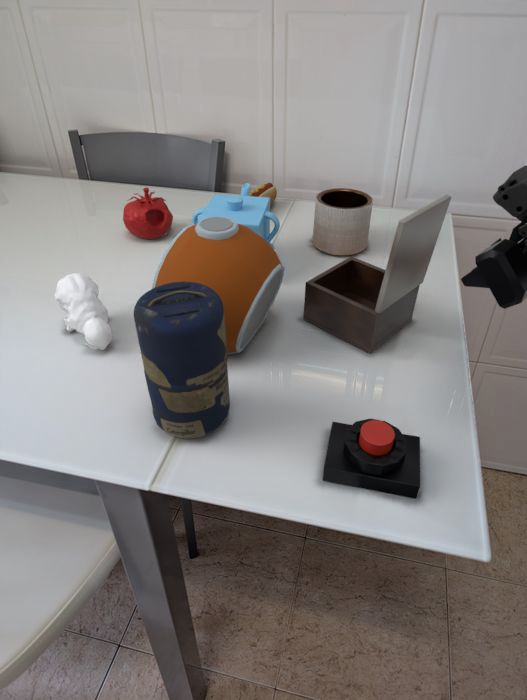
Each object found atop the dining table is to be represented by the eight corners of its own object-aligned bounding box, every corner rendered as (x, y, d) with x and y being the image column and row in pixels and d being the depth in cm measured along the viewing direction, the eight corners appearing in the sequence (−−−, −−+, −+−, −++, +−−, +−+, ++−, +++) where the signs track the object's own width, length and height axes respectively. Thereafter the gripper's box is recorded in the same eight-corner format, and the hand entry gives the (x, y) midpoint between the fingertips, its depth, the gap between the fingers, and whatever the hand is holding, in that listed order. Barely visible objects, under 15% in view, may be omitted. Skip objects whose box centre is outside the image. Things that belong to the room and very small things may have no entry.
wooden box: (303, 319, 78) (305, 282, 74) (346, 291, 85) (351, 256, 81) (369, 354, 72) (376, 315, 67) (411, 321, 78) (420, 283, 74)
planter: (364, 234, 103) (371, 188, 97) (369, 258, 94) (376, 210, 88) (312, 231, 104) (315, 186, 98) (311, 256, 95) (315, 208, 89)
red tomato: (116, 239, 101) (107, 194, 95) (142, 220, 108) (136, 177, 102) (159, 247, 98) (153, 201, 92) (183, 227, 105) (178, 183, 100)
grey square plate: (398, 220, 58) (404, 223, 58) (446, 194, 65) (451, 196, 65) (374, 311, 67) (379, 313, 67) (418, 279, 74) (423, 282, 73)
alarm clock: (201, 288, 86) (193, 189, 75) (296, 310, 80) (302, 207, 70) (138, 351, 72) (116, 241, 61) (247, 383, 66) (245, 268, 56)
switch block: (416, 449, 58) (423, 425, 55) (416, 499, 52) (424, 475, 50) (330, 434, 59) (333, 410, 57) (322, 480, 54) (325, 456, 52)
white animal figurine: (89, 262, 75) (119, 305, 67) (99, 307, 80) (128, 351, 73) (46, 274, 72) (73, 320, 65) (59, 319, 78) (85, 366, 70)
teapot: (274, 285, 86) (275, 215, 78) (187, 278, 88) (180, 209, 80) (286, 240, 100) (288, 177, 92) (211, 235, 102) (207, 172, 94)
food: (250, 224, 106) (250, 202, 103) (229, 219, 108) (228, 197, 105) (281, 203, 116) (281, 182, 113) (260, 198, 118) (260, 177, 115)
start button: (392, 434, 55) (395, 423, 54) (391, 459, 52) (394, 447, 51) (360, 428, 55) (362, 417, 54) (357, 452, 53) (359, 441, 51)
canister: (230, 443, 58) (223, 317, 47) (149, 446, 58) (122, 319, 47) (230, 388, 66) (224, 267, 55) (158, 390, 65) (137, 269, 54)
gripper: (593, 129, 54) (470, 201, 67) (526, 170, 43) (395, 246, 56) (641, 219, 54) (510, 273, 67) (586, 281, 44) (443, 331, 57)
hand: (467, 278), depth 62 cm, fingers closed
